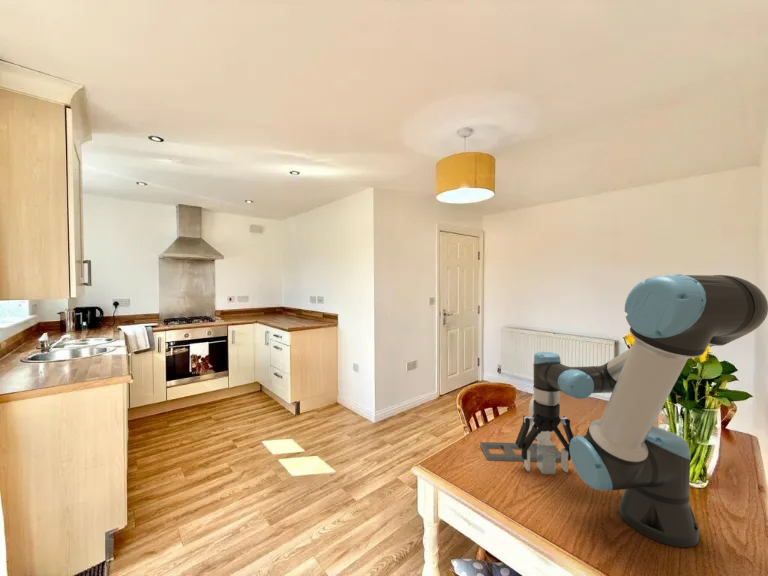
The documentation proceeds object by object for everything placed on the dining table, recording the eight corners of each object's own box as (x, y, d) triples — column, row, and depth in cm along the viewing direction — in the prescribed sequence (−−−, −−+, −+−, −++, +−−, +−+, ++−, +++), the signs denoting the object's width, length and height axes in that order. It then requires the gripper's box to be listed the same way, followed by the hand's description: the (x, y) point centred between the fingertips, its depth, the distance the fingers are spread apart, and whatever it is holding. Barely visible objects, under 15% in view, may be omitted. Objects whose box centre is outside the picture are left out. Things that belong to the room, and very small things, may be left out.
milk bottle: (548, 443, 120) (548, 390, 119) (526, 437, 124) (526, 386, 124) (552, 435, 126) (552, 385, 126) (531, 430, 130) (531, 381, 130)
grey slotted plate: (566, 462, 107) (566, 458, 107) (487, 460, 108) (487, 456, 108) (551, 446, 117) (551, 443, 117) (480, 445, 118) (480, 442, 118)
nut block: (555, 474, 100) (555, 445, 100) (542, 473, 100) (542, 445, 100) (549, 466, 104) (549, 439, 104) (536, 466, 104) (537, 439, 104)
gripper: (577, 397, 105) (576, 463, 106) (505, 396, 106) (504, 462, 107) (591, 406, 98) (590, 477, 98) (513, 405, 99) (512, 475, 99)
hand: (545, 469), depth 102 cm, fingers open, 11 cm apart
